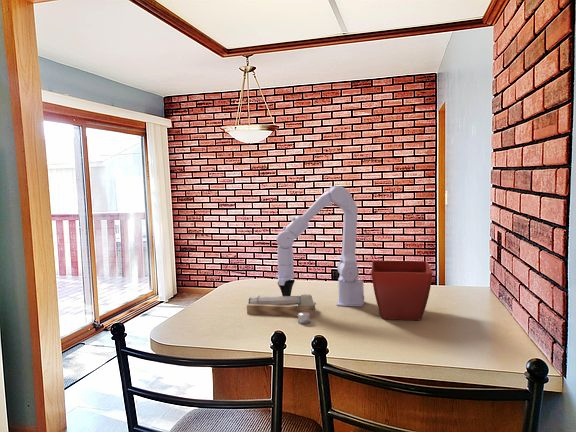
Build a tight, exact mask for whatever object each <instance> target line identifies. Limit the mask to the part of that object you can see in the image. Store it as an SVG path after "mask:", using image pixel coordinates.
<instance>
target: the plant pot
mask: <svg viewBox="0 0 576 432" xmlns="http://www.w3.org/2000/svg"><path fill="white" fill-rule="evenodd" d="M370 273H371V274H370V275H371V281H372V285H373V286H372V287H373V293H374V297H375V300H376V301H375V302H376V304H377V308H378V311H379V315H380V317H381V319H383V320H400V321H401V320H402V321H403V320H405V321H421V320H422V319H423V316H424V313H425V310H426V307H427V304H428V300H429V297H430V292H431V287H432V281H433V280H432V279H433V273H434V272H433V271H432V269H431V267H430V265H429V263H428V261H426V260H425V261H424V260H372V261H371V271H370Z"/></svg>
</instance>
